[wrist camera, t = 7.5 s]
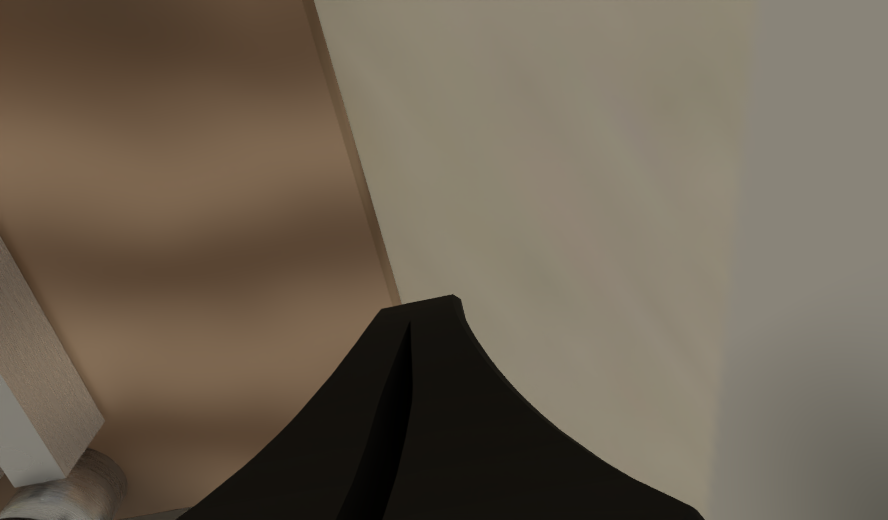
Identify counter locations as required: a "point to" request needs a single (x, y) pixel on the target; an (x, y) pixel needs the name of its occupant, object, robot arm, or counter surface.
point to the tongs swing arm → (37, 390)
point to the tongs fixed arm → (72, 493)
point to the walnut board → (186, 222)
